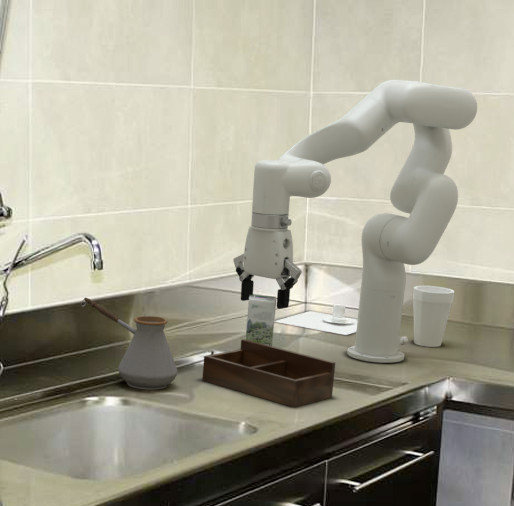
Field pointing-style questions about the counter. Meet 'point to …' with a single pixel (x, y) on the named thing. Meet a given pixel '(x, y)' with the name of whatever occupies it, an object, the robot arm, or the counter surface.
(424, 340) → the foam cup
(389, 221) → the robot arm
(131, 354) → the coffee pot
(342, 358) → the counter surface
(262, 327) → the tea packet
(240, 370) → the compartment tray
